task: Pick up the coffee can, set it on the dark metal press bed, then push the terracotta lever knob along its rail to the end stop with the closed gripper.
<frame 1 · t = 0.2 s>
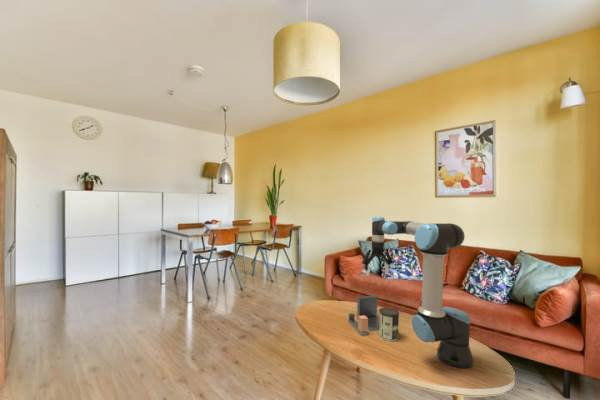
hand: (377, 274, 176), 27 cm above the table, fingers open, 13 cm apart
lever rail: (357, 328, 162), on the table
coffee can: (388, 336, 153), on the table
lever knob: (362, 323, 156), point 6 cm above the table, slide at 0.0 cm
press bed: (373, 325, 166), on the table
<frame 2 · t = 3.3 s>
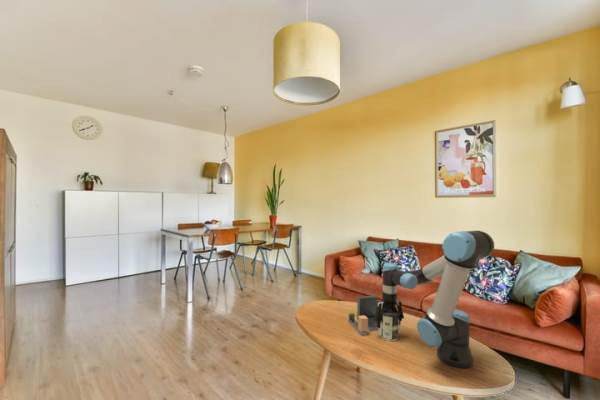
hand: (388, 332, 153), 2 cm above the table, fingers closed on coffee can, 10 cm apart
coffee can: (388, 336, 153), on the table, touching gripper
everything else where it was.
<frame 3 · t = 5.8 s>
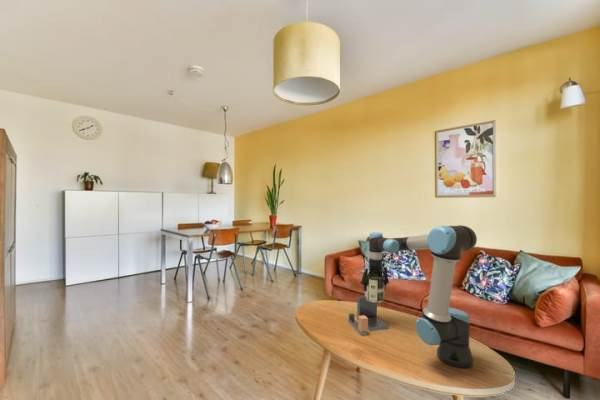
hand: (374, 295, 166), 18 cm above the table, fingers closed on coffee can, 10 cm apart
coffee can: (374, 299, 166), point 15 cm above the table, touching gripper
everything else where it was.
when the fingers open (6 cm above the table, at t = 8.1 s): coffee can drops 1 cm, resting on press bed.
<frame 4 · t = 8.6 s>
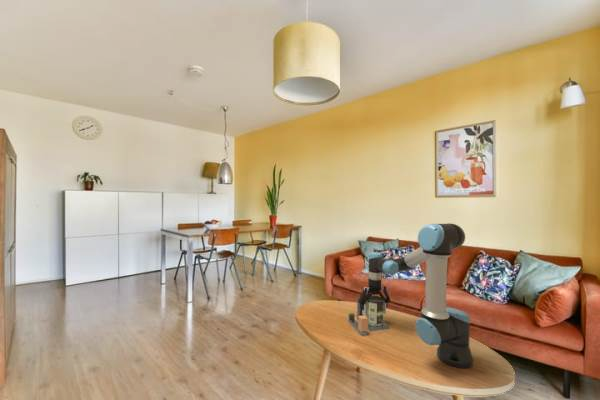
hand: (374, 314, 166), 7 cm above the table, fingers open, 13 cm apart
coffee can: (373, 322, 166), point 2 cm above the table, touching press bed
everything else where it was.
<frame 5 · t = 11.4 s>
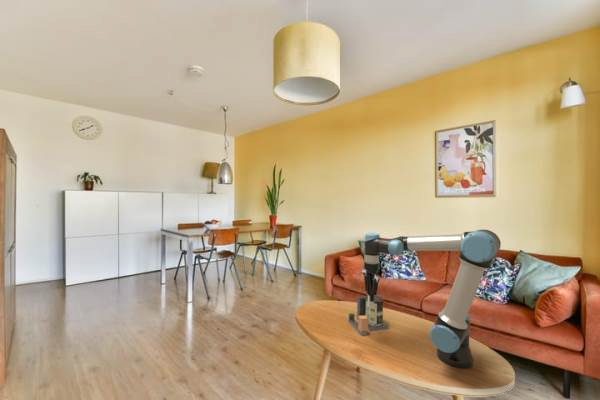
hand: (370, 306, 148), 18 cm above the table, fingers closed
nothing on the table moved.
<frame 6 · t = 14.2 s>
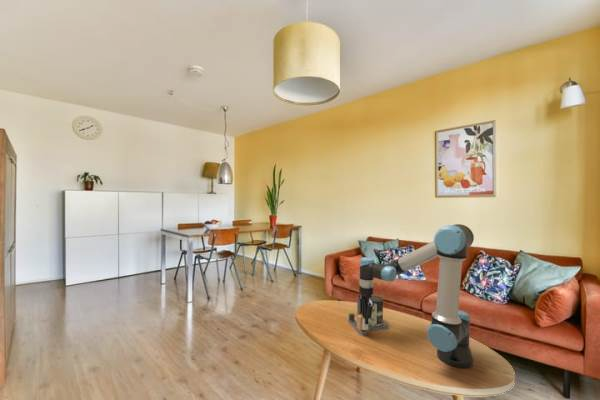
hand: (365, 329, 153), 4 cm above the table, fingers closed
lever knob: (361, 322, 157), point 6 cm above the table, slide at 1.5 cm, touching gripper
everything else where it was.
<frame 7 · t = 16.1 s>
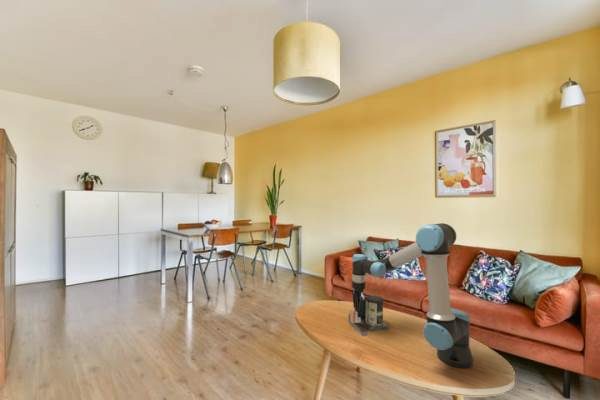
hand: (358, 322, 161), 4 cm above the table, fingers closed
lever knob: (354, 315, 165), point 6 cm above the table, slide at 10.2 cm, touching gripper
everything else where it was.
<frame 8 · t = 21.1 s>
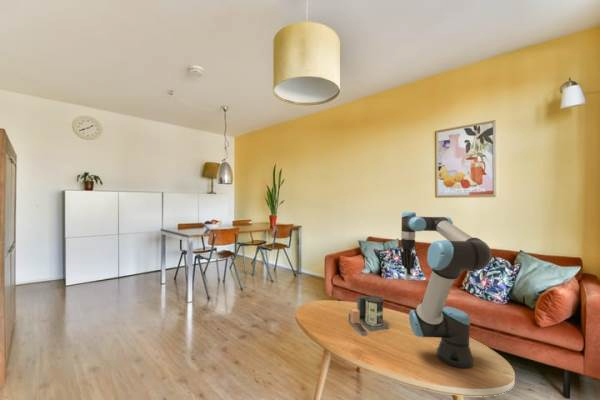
hand: (407, 279, 160), 29 cm above the table, fingers closed
lever knob: (354, 315, 165), point 6 cm above the table, slide at 10.0 cm
everything else where it was.
at the end: coffee can 0.0 cm from the press bed (horizontally); coffee can tilted 0°; lever knob slide at 10.0 cm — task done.
